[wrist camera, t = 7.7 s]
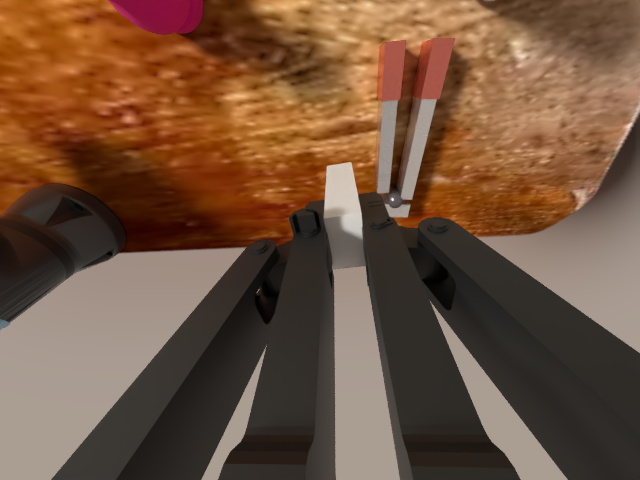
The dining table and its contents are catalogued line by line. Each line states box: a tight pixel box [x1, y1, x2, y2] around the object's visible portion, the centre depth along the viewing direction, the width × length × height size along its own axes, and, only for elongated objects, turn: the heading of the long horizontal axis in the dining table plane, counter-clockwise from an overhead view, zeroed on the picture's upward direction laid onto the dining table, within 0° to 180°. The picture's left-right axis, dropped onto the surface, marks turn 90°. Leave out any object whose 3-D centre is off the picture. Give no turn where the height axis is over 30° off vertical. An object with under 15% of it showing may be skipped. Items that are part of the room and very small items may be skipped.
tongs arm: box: [375, 40, 406, 193], centre depth 29 cm, size 16×2×4 cm, turn 5°
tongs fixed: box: [380, 38, 455, 217], centre depth 30 cm, size 20×5×4 cm, turn 0°
